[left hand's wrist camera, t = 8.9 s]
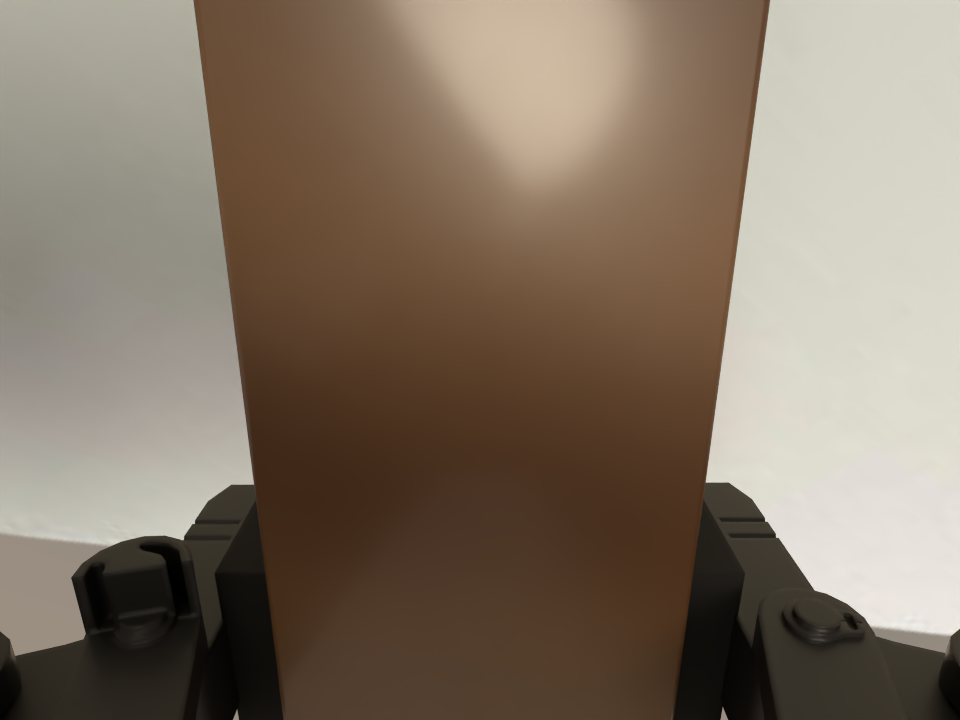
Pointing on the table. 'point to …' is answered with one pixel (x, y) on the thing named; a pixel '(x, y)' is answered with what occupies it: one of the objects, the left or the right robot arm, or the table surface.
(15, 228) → the table surface
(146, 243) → the table surface
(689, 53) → the bar
